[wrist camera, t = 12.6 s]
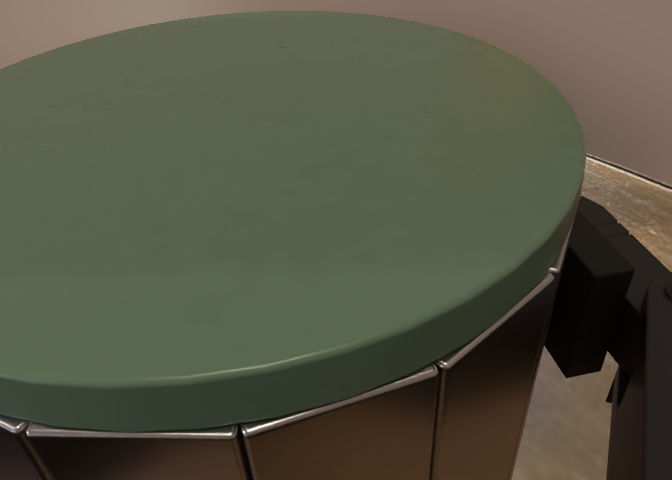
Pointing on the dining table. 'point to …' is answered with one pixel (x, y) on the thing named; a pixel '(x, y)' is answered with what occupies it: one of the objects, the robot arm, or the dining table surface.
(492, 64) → the green-topped staved canister
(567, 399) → the dining table surface
